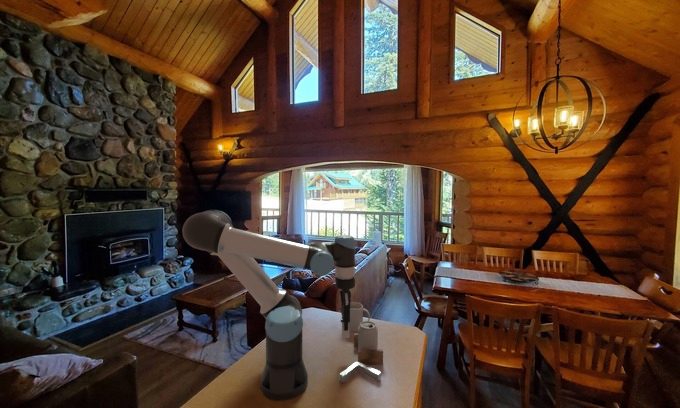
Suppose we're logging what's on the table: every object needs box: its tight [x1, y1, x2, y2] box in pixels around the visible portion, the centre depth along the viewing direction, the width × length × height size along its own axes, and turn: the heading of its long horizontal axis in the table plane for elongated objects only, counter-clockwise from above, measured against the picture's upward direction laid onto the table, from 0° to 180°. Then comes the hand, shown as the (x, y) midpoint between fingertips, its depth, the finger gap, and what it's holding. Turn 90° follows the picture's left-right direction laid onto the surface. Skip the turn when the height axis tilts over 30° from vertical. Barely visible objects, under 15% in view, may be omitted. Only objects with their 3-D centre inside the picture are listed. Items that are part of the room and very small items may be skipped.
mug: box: [349, 301, 371, 332], centre depth 132 cm, size 11×10×10 cm
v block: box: [339, 361, 382, 384], centre depth 98 cm, size 14×8×2 cm, turn 94°
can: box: [357, 320, 379, 351], centre depth 110 cm, size 8×8×12 cm
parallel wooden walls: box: [353, 332, 384, 366], centre depth 110 cm, size 9×13×5 cm
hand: (345, 337), depth 109 cm, fingers closed
